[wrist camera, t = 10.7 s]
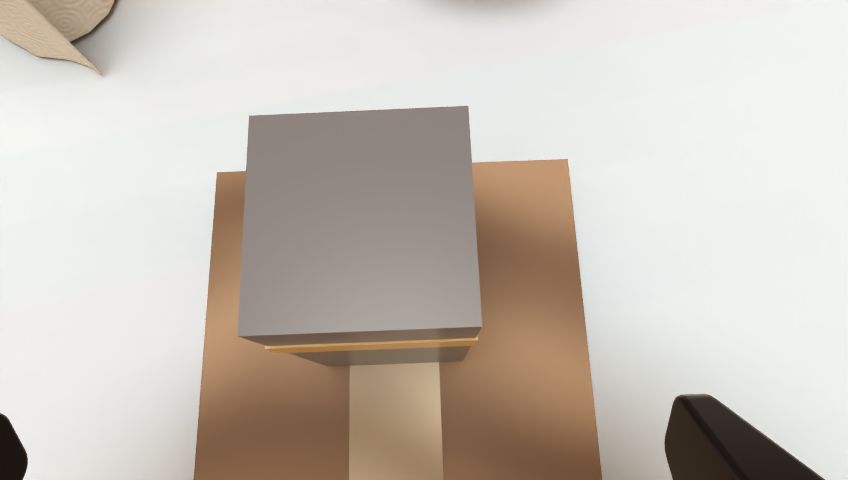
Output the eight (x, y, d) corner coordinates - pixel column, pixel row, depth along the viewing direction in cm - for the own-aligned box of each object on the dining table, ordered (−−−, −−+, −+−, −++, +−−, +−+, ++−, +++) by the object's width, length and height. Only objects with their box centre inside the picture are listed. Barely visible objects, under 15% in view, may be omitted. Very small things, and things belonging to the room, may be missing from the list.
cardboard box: (623, 800, 17) (640, 838, 15) (189, 808, 17) (165, 847, 16) (559, 174, 22) (567, 158, 21) (231, 187, 23) (216, 171, 21)
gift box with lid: (464, 363, 19) (485, 329, 10) (327, 368, 19) (234, 339, 10) (457, 231, 20) (470, 103, 12) (328, 236, 20) (247, 113, 12)
